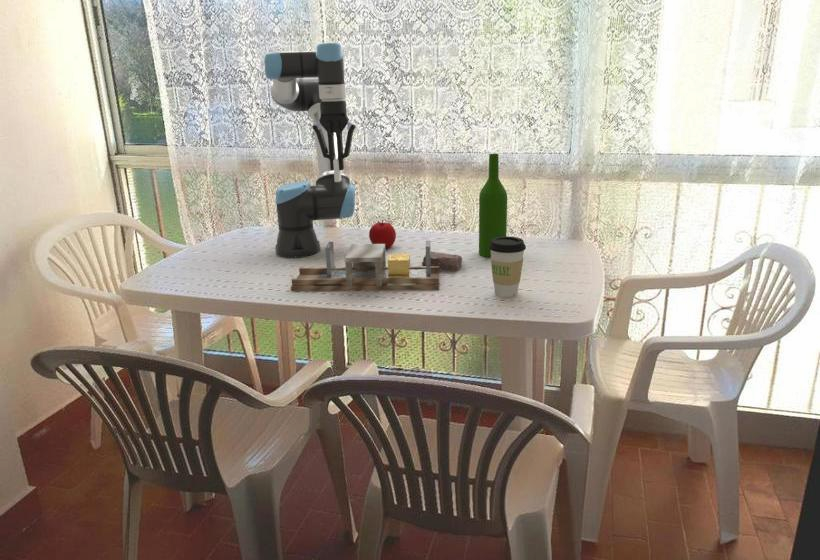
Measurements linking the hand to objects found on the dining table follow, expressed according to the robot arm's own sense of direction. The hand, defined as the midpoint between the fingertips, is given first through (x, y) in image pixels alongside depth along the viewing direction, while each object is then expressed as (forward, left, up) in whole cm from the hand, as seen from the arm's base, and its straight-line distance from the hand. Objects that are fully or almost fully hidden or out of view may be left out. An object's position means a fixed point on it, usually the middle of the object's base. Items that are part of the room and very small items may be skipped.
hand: (338, 181), depth 189 cm
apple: (-2, +24, -28) cm, 37 cm away
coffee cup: (+55, +3, -28) cm, 61 cm away
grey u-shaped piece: (+18, -6, -26) cm, 32 cm away
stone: (+27, +15, -28) cm, 42 cm away
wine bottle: (+35, +34, -28) cm, 56 cm away
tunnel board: (+15, -8, -27) cm, 32 cm away
